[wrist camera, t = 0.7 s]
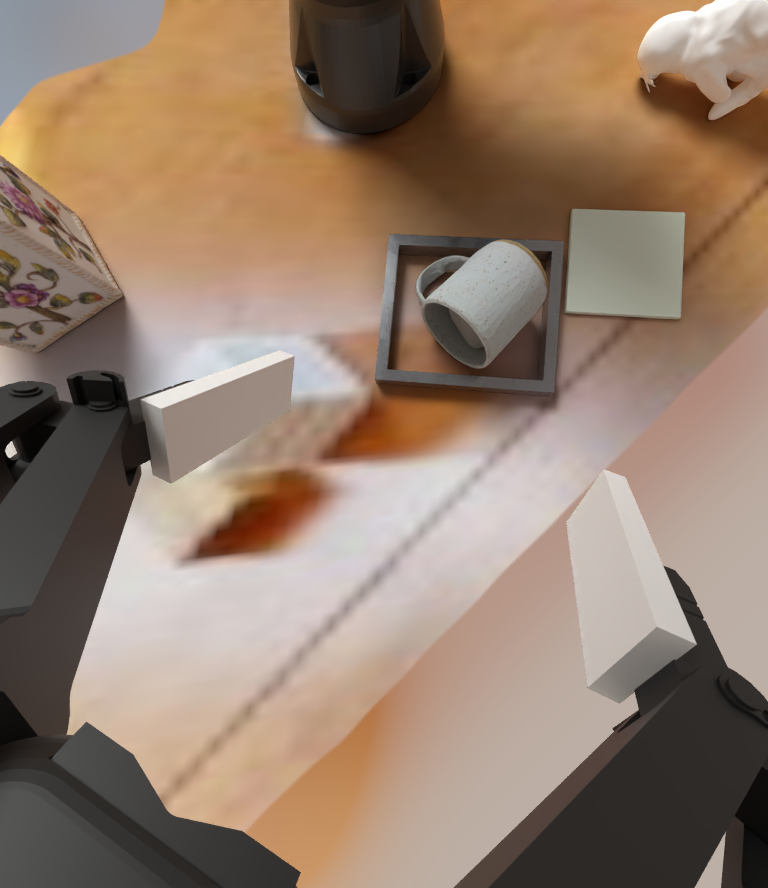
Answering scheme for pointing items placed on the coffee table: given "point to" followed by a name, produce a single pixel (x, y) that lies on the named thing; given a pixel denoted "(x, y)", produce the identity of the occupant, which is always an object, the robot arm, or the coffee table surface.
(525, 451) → the coffee table surface
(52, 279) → the decorative jar
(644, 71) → the white figurine
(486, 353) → the ceramic mug
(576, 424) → the coffee table surface
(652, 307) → the grey-green mat
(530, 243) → the square frame
